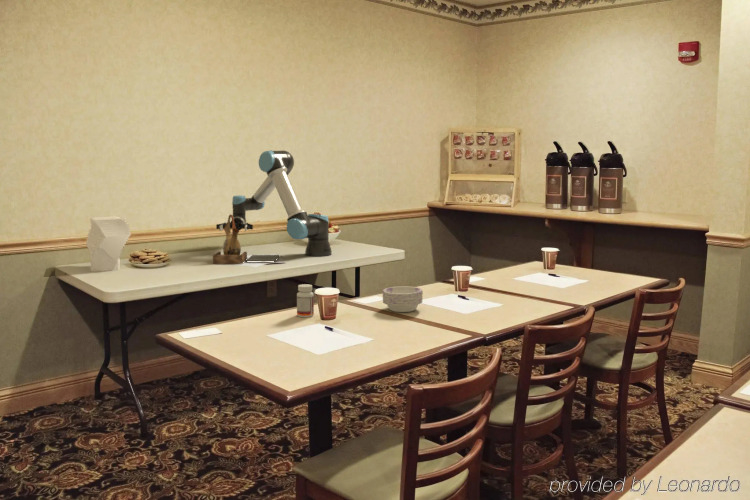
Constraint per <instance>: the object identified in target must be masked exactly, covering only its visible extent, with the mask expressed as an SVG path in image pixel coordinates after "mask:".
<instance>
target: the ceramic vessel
mask: <svg viewBox="0 0 750 500" xmlns="http://www.w3.org/2000/svg"><path fill="white" fill-rule="evenodd" d="M231 221H232V229H230V222H231ZM226 223H227V224H226V226H225V228H224V229H223V230H224V233H225V240H224V241H223V244H222V252H223V255H241V254H242V247H241V246H242V245H241V243H240V241H239V239H238V235H239V234H240V233H239V232H240V230H237V229H236V227H235V223H234V218H233V214H229V215H228V218H227V222H226Z"/></svg>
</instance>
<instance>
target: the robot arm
mask: <svg viewBox="0 0 750 500" xmlns="http://www.w3.org/2000/svg"><path fill="white" fill-rule="evenodd" d="M258 158H259V159H258V167H259V170H261V172H264V173H266V175H267V176H266V178H265V179H264V181H262V184H260V186H259V187H258V189H257V190H256V191H255V193H253V195H252V196H251V197H246V196H245V195H233V197H232V203H231V205H232V216H233V218H234V223H235V227H236V229H237V230H239V231H241V230H243V229H244V232H247V231H248V230H253V229H254V227H253V226H254V225H253V224H252V223H248V222H247V218H246V212H248V211H259V210H262V209H263V208H264V207H265V205H266V204H265V203H266V200H267V199H268V198H269V196H270V195H271V194H272V192H273V191H274V190H275V189H276V191H277V194H278V196H279V198H280V201H281V202H282V203H281V204H282V205H283V208H284V210H285V212H286V214H287V219H286V221H287V222H286V231H287V234H288V235H289V237H290V238H292V239H295V240H305V239H307V244H306V247H305V251H304V254H305V256H311V257H326V256H331V255H333V253H332V252H333V251H332V247H331V244H330V240H329V234H330V233H329V229H330V228H329V225H330V224H329V223H330V222H329V216H328V215H327V214H315V213H308V212H307V211H306V210H304V209H303V208H302V206H301V203H300V201H299V199H298V197H297V195H296V192H295V190H294V188H293V187H294V186H292V183H291V181H290V179H289V176H288V175H289V174H290V173H291V172H292V170H293V168H294V166H295V158H294V157H293V155H292V154H291V153H290V152H289V151H287V150H271V149H270V150H265V151H263V152H262V153H261V154H260V155H259V157H258ZM226 224H227V222H223V223H218V224H216V229H217V230H219V232H222V231H223V230H224V228H225V226H226ZM230 230H232V220H230Z"/></svg>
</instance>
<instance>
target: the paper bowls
mask: <svg viewBox="0 0 750 500" xmlns="http://www.w3.org/2000/svg"><path fill="white" fill-rule="evenodd" d="M423 295H424V294H423V289H422V288H420V287H416V286H407V285H405V286H404V285H401V286H400V285H399V286H390V287H386V288H384V289H382V303H383V304H384V305H387V307H388V310H389V311H392V312H396V313H411V312H414V311H416V310H417V308H418V306H419V305H420V304H422V303H423Z"/></svg>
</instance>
